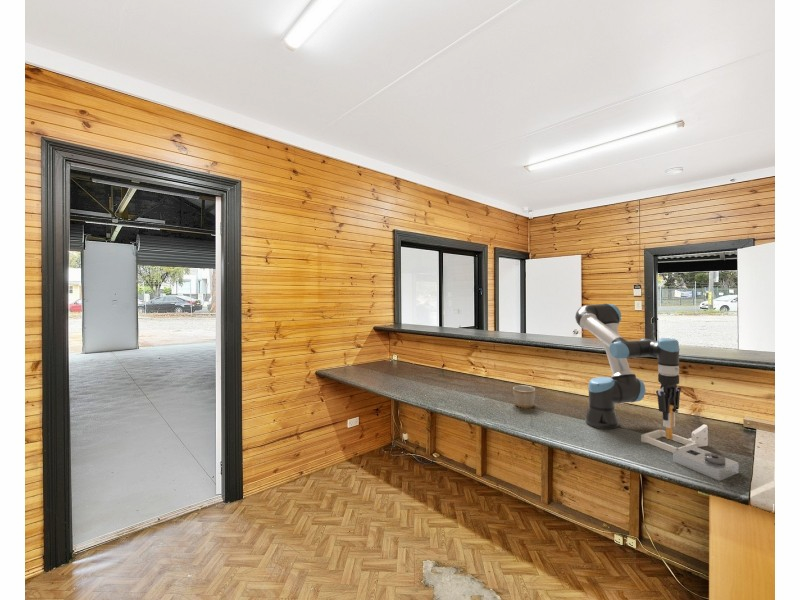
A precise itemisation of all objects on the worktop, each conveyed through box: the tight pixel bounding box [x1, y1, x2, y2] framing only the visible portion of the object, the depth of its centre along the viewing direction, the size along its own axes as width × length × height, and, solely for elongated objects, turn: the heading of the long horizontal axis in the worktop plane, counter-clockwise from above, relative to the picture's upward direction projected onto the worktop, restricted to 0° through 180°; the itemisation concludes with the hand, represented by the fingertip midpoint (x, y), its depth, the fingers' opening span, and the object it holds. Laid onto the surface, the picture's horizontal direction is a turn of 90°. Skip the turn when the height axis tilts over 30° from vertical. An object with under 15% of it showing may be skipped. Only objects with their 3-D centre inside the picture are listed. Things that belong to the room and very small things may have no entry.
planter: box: [512, 384, 536, 409], centre depth 222 cm, size 13×13×10 cm
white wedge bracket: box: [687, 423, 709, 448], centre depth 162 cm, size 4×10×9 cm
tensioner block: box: [672, 445, 740, 482], centre depth 144 cm, size 16×12×8 cm
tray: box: [640, 428, 699, 454], centre depth 163 cm, size 16×13×4 cm
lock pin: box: [665, 404, 674, 440], centre depth 163 cm, size 3×3×15 cm
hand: (669, 426), depth 163 cm, fingers closed on lock pin, 2 cm apart
